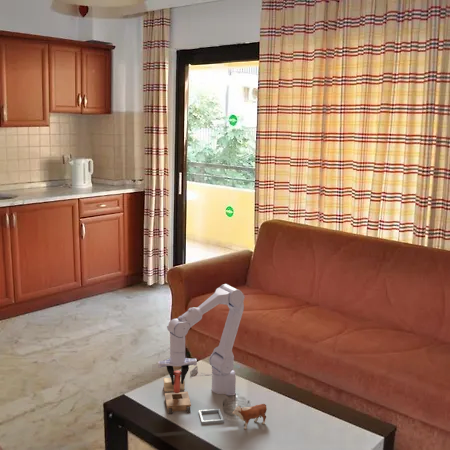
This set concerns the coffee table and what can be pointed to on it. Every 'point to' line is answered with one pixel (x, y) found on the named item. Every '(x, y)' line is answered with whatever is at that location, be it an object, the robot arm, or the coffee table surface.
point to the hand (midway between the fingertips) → (177, 383)
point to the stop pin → (177, 381)
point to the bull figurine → (251, 413)
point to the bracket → (196, 372)
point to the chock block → (169, 386)
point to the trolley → (178, 402)
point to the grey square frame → (211, 420)
